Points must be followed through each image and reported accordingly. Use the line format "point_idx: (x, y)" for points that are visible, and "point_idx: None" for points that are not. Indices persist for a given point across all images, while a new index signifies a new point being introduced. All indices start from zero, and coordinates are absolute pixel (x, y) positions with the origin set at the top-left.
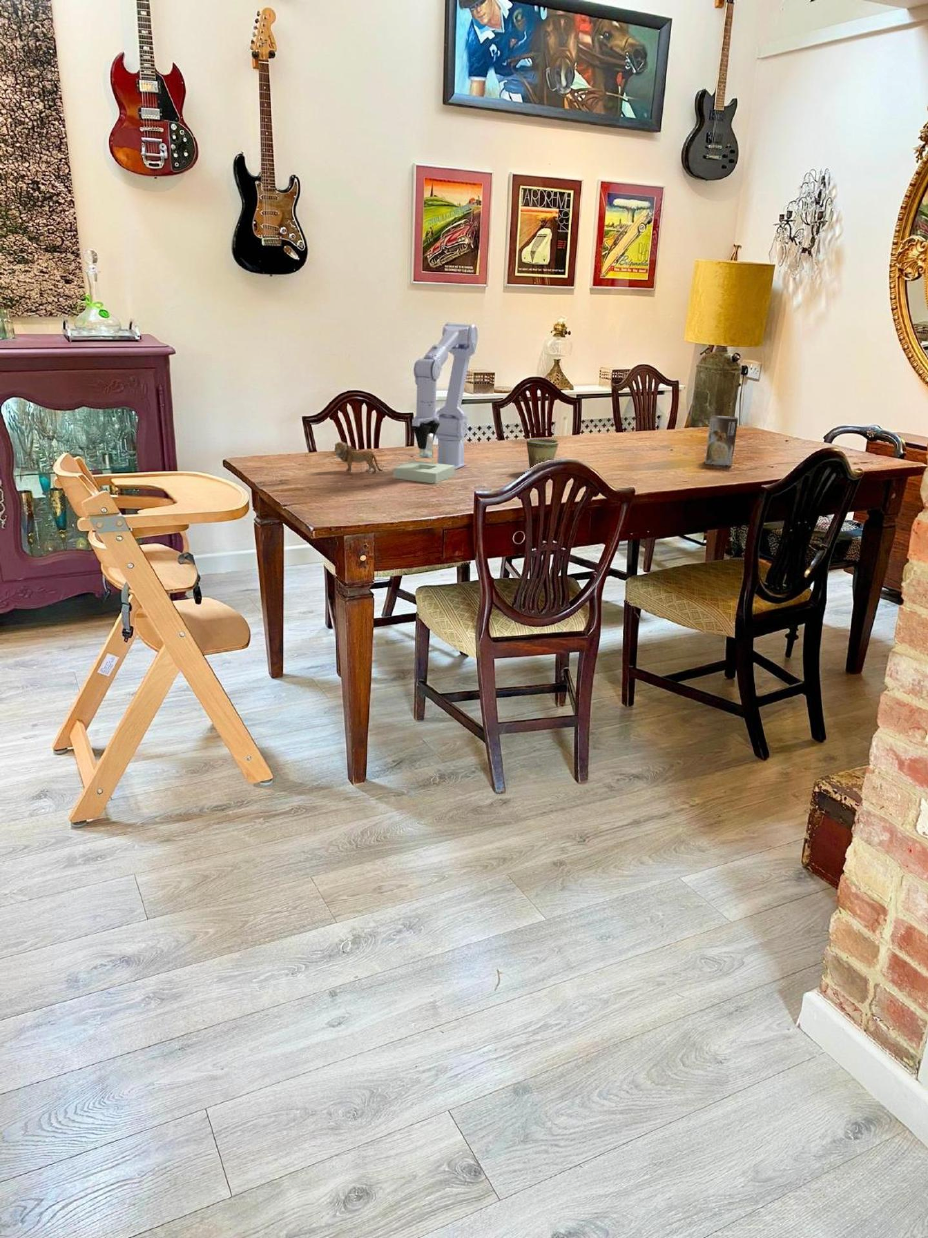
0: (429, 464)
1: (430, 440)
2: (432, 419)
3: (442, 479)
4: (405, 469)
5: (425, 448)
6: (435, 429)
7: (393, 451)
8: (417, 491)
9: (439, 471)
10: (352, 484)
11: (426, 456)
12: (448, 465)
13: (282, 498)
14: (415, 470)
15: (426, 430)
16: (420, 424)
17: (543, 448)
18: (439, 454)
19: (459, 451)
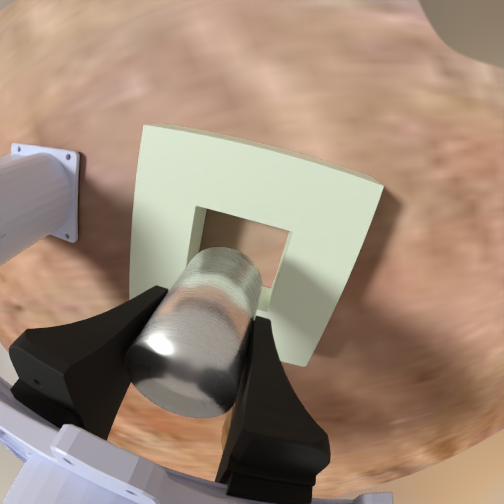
0: (172, 248)
1: (224, 323)
2: (180, 495)
3: (301, 154)
4: (324, 328)
5: (254, 315)
6: (94, 343)
7: None
8: (496, 233)
9: (329, 173)
10: (408, 403)
11: (259, 280)
12: (155, 156)
13: (494, 433)
14: (335, 289)
15: (319, 426)
16: (306, 499)
17: None
18: (40, 235)
19: (4, 163)
